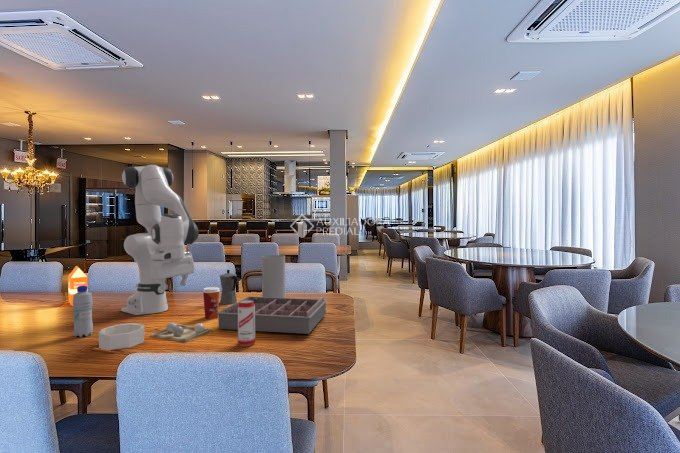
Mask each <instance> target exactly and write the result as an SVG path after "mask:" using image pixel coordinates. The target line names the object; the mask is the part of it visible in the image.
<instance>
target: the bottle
mask: <svg viewBox="0 0 680 453" xmlns="http://www.w3.org/2000/svg"><path fill="white" fill-rule="evenodd" d="M93 301H94V299H93V294H92V292H90V291H89V290H88V291H87V286H84V285H82V286H79V287H77V293H76V294H74V295H73V302H72V303H73V305H72V308H73V334H74V337H76V336H79V337H78V338H82V337H83V335H84V336H86V337H88V336H91V335H92V334H93V331H94V326H93V325H94V324H93V305H94V303H93ZM90 334H91V335H90Z"/></svg>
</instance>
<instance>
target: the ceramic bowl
mask: <svg viewBox="0 0 680 453" xmlns="http://www.w3.org/2000/svg"><path fill="white" fill-rule="evenodd" d="M144 340H145V324H143V323H135V322H133V323H132V322H131V323H124V324H123V323H121V324H115V325H112V326H107V327H105V328H102V329H101V330H100V331H99V332H98V349H99V348H101V349H100V350H102V349H106V350H105V351H107V350H119V349H121V350H122V349H128V348H132V347H135V346H137V345H139V344H142V343H144Z"/></svg>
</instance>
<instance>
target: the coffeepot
mask: <svg viewBox="0 0 680 453" xmlns="http://www.w3.org/2000/svg"><path fill="white" fill-rule="evenodd" d="M237 276H238V275H237V274H236V273H231V272H230V269H226V273H222V274H220V275H219V279H220V285H221V286H220V288H221V293H220V294H221V295H220V299H219V304H221V305H233V304H235V303H237V302H238V299H237V295H236V288H237V287H236V286H237V281H238V278H237Z"/></svg>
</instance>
